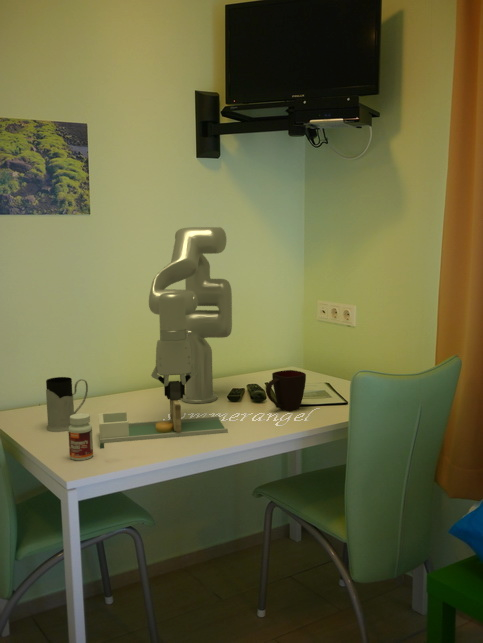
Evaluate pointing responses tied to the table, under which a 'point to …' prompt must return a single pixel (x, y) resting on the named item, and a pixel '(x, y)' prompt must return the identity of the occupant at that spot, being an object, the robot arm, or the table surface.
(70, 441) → the pill bottle
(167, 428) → the yellow domed round part
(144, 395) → the table surface
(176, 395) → the striker
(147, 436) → the pitch
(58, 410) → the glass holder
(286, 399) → the cup
